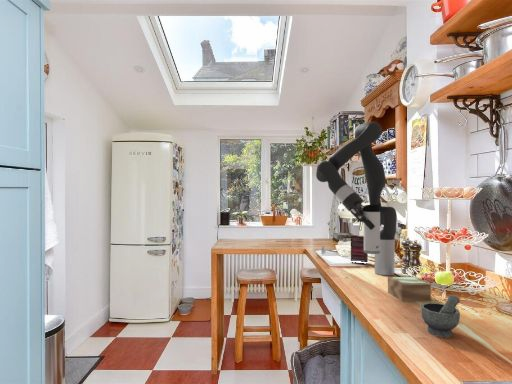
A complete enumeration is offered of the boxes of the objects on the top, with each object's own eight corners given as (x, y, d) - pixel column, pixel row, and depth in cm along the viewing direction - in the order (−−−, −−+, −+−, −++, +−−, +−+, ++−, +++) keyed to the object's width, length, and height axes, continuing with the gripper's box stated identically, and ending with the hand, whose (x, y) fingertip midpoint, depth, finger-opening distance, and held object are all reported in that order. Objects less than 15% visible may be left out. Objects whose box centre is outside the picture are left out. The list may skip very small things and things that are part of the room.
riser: (387, 292, 132) (387, 276, 132) (414, 291, 133) (414, 276, 133) (402, 301, 121) (402, 284, 121) (430, 300, 122) (430, 283, 122)
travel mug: (382, 254, 130) (382, 203, 130) (364, 253, 132) (364, 203, 132) (379, 251, 136) (379, 203, 136) (362, 251, 138) (363, 203, 138)
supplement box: (367, 263, 188) (368, 235, 188) (365, 264, 184) (365, 236, 184) (352, 261, 193) (352, 234, 193) (350, 263, 189) (350, 235, 189)
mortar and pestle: (413, 327, 97) (413, 286, 97) (440, 324, 99) (440, 284, 99) (442, 344, 86) (442, 298, 86) (472, 340, 88) (472, 295, 88)
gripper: (347, 191, 133) (376, 222, 126) (361, 191, 144) (389, 220, 136) (335, 204, 137) (362, 235, 129) (350, 203, 148) (376, 232, 140)
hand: (376, 227), depth 133 cm, fingers closed on travel mug, 6 cm apart
